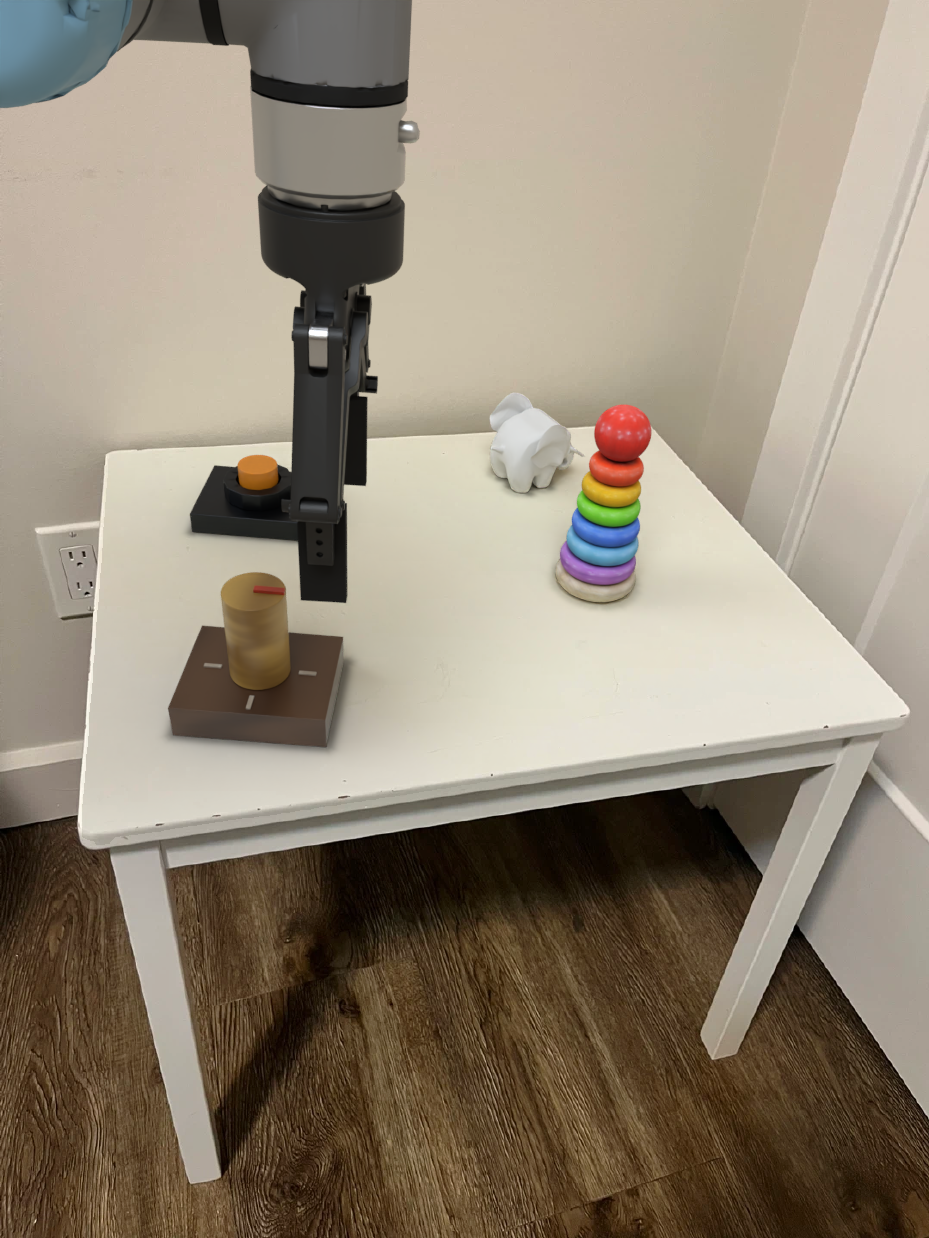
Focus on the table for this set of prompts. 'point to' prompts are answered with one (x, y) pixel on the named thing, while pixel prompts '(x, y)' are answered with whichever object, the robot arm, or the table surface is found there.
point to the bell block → (243, 507)
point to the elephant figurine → (528, 444)
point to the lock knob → (256, 630)
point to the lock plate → (259, 694)
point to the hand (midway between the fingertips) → (336, 535)
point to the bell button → (257, 472)
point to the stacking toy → (607, 511)
